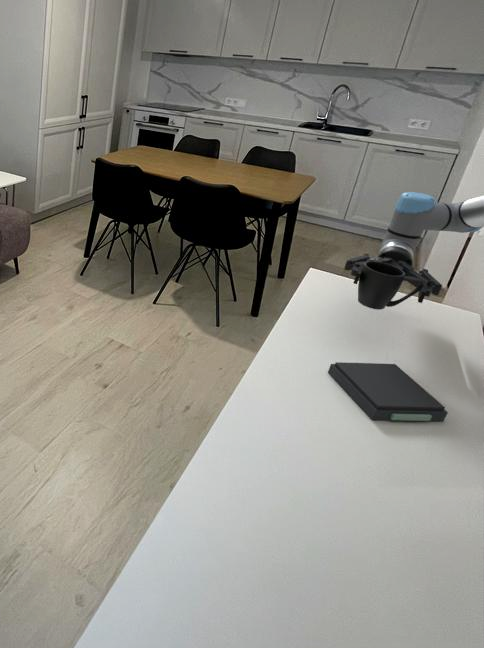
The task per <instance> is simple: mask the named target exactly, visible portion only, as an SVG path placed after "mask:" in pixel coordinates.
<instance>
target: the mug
mask: <svg viewBox="0 0 484 648" xmlns="http://www.w3.org/2000/svg"><path fill="white" fill-rule="evenodd" d="M403 280H414V281H418V282H419V285H418V286H417V288H416V287H415V288H414V289H413V290H412V291H410V292H409V293H408V294H406V295H404V296H403V297H400V298H398V299H396V300H393V299H394V298H395V296H396V295H397V293H398V292H399V290H400V289H401V286H402V284H403V282H404V281H403ZM423 283H424V282H423V280H421V279H419V278H414V277H407V276H405V272H404V271H403V270H401V269H400V268H398V267H395V266H393V265H390V264H386V263H382V262H376V261H368V262H365V264H364V266H363V269H362V272H361V274H360V277H359V280H358V283H357V285H358V286H357V301H358V303H359V304H361V306H364V307H366V308H369V309H373V310H381V311H382V310H384V309H385V308H387V307H388V308H392V307H396V306H398V305H400V304H401V303H402V302H404V301H407V299H409V298H411V297H412V296H414V295H416V294H417V293H419V291H420V289H421V288H422V286H423Z"/></svg>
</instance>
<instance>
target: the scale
mask: <svg viewBox="0 0 484 648" xmlns="http://www.w3.org/2000/svg"><path fill="white" fill-rule="evenodd" d="M327 373H328V374H329V375H330V377H331V378H333V380H334V381H335V382H336V383H337V384H338V385H339V386H340V387H341V389H343V391H344V392H345V393H346V394H347V395H348V396H349V397H350V398H351V399H352V400H353V401H354V402H355V404H356V405H357V406H359V408H360V409H361V410H362V411H363V412H364V413H365V415H367V416H368V418H369V419H371V420H372V421H393V422H395V421H396V422H397V421H398V422H403V421H404V422H442V423H443V422H445V419H446V417H447V415H448V413H449V412H448V411H447V410H446V406H444V405H443V404H442V403H441V402H439V401H438V400H437V399H436V398H435V397H434V396H433V395H432V394H430V393H429V392H428V391H427V390H426V389H425V388H423V386H422V385H420V384H419V383H418V382H416V381H415V380H414V379H413V378H412V377H411V376H410V375H408V374H407V373H406V372H405V370H403V369H402V368H401V367H399V365H397V364H396V363H378V362H376V363H373V362H342V361H341V362H338V361H337V362H335V363H330V365H329V367H328V370H327Z"/></svg>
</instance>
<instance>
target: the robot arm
mask: <svg viewBox="0 0 484 648" xmlns="http://www.w3.org/2000/svg"><path fill="white" fill-rule="evenodd" d="M482 228H484V195H481V196H477V197H473V198H470V199H467V200H462V201H459V202H436V199H435V198H434V197H433V196H432V195H429V194H426V193H421V192H415V191H406V192H403V193H402V194H401V195H400V196H399V199H398V201H397V203H396V205H395V207H394V211H393V214H392V218H391V220H390V222H389V226H388V227H387V229H386V232H385V234H384V237H383V238H382V241H381V243H380V248H379V251H378V255H377V257H375V258H372V257H371V255H370V254H369V253H363V255H360V256H356V257H352V258H349V259H346V261H345V266H344V267H343V269H344V270H345V271H351V272H350V275H351V276H353V277H354V280H353V284H354V285H358V284H359V278H360V274H361V272H362V269H363V266H364V264H365V262H368V261H376V262H382V263H386V264H390V265H393V266H395V267H398V268H400V269H401V270H403V271H404V272H405V276H407V277H414V278H419V279H421V280H423V282H424V283H423V286H422V288H421V289H420V291H418V294H417V303H419V304H423V301H424V299H425V298H426V297H428V298H429V297H431V294H432V295H434V296H439V295H440V293H441V290H442V288H443V284H442V283H440V282H439V281H438V280H437V279H436V278H435V277H434V276H432V275H431V273H429V270H428V269H426V268H422V269H419V270H417V269H415V267H413V264H414V255H415V251H416V249H417V247H418V244H419V241H420V239H421V236H422V235H423V233H424V231H434V232H435V231H438V232H452V233H453V232H455V233H463V234H464V233H475V232H478V231H480V230H481V229H482ZM403 282H407V283H409V284H410V285H412V286H413V287H415V289H416V288H417V286H418V285H419V282H418V281H414V280H403Z"/></svg>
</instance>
